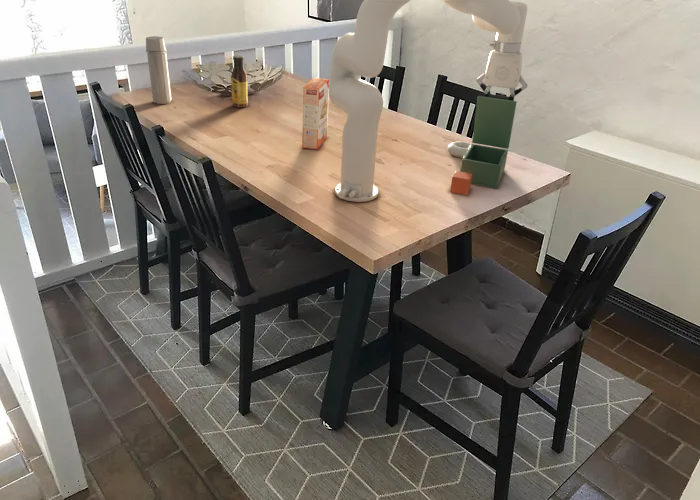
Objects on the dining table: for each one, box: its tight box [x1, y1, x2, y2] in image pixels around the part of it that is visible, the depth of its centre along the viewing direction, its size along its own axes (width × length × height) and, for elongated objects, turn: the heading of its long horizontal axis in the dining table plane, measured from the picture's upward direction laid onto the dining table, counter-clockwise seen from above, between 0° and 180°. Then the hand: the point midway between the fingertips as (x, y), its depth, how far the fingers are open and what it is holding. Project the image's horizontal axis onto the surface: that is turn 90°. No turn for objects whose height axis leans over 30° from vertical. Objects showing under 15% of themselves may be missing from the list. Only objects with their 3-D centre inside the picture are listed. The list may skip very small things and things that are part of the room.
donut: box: [447, 141, 473, 159], centre depth 196 cm, size 10×4×10 cm
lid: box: [471, 93, 517, 150], centre depth 179 cm, size 16×12×6 cm
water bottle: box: [145, 35, 172, 105], centre depth 226 cm, size 9×8×25 cm
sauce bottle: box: [230, 54, 249, 108], centre depth 229 cm, size 7×6×20 cm
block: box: [449, 170, 472, 196], centre depth 169 cm, size 5×5×5 cm
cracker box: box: [301, 77, 330, 150], centre depth 195 cm, size 14×6×21 cm, turn 168°
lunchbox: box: [460, 143, 509, 189], centre depth 179 cm, size 16×12×7 cm
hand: (497, 106), depth 178 cm, fingers closed on lid, 6 cm apart
